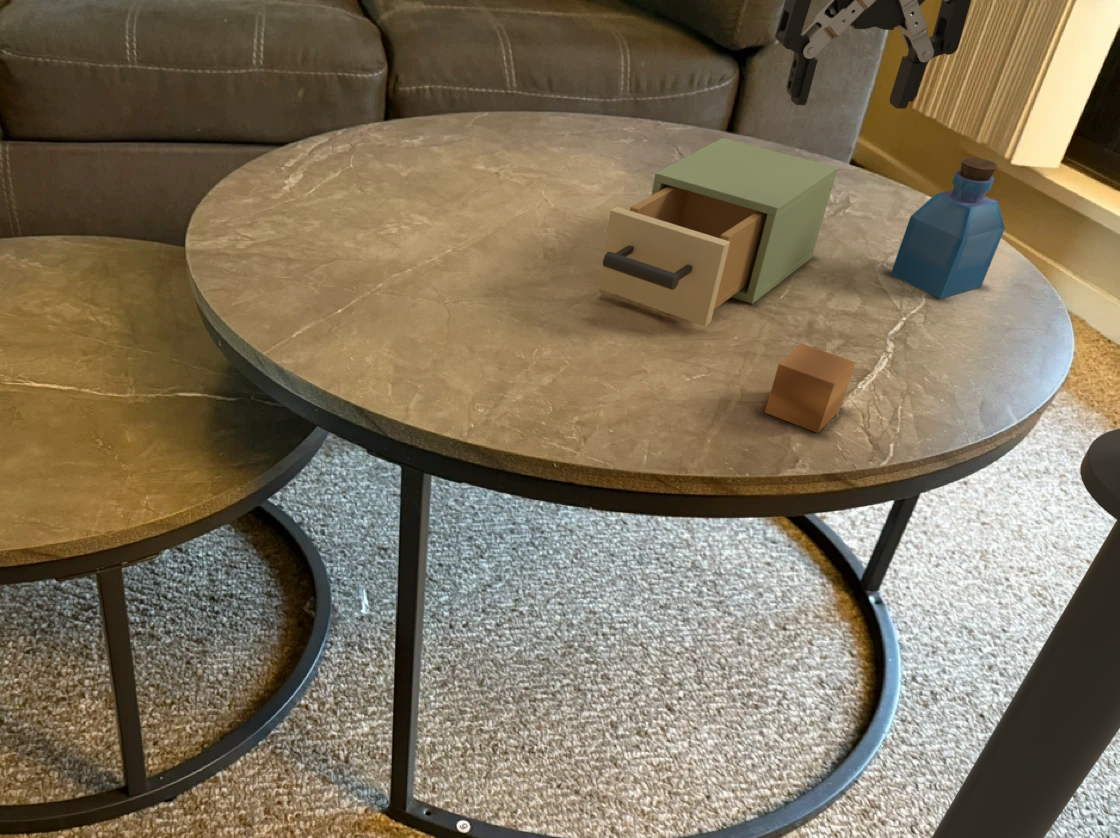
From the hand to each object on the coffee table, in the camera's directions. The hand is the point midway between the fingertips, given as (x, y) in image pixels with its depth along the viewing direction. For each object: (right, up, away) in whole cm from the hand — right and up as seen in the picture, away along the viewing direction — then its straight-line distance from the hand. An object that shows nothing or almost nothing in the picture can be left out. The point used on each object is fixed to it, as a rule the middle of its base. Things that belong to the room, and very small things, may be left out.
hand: (847, 104), depth 89 cm
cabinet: (-4, -8, +21) cm, 22 cm away
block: (-5, -26, -2) cm, 27 cm away
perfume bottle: (+17, -11, +19) cm, 27 cm away
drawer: (-11, -13, +13) cm, 21 cm away
